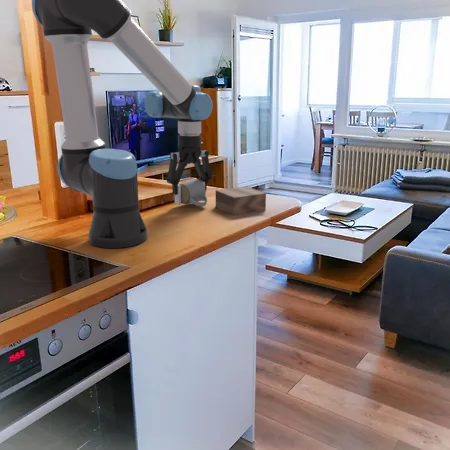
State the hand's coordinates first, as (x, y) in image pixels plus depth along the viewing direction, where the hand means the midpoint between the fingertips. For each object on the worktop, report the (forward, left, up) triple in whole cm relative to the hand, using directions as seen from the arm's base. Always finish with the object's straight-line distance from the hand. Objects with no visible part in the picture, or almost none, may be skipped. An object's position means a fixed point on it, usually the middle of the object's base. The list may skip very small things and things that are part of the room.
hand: (189, 202), depth 162 cm
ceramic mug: (+1, -1, -1) cm, 1 cm away
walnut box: (+11, -13, -2) cm, 17 cm away
